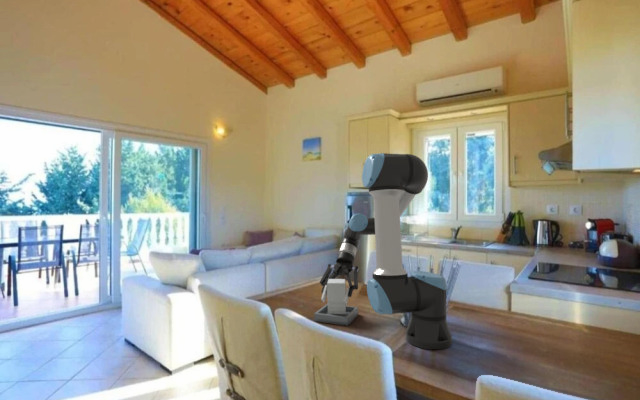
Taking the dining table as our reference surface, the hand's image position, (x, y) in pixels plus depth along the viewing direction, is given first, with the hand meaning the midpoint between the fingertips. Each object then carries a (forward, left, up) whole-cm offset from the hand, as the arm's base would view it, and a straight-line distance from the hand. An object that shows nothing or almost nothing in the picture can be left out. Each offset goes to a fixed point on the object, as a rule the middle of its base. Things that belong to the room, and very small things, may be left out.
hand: (333, 301), depth 138 cm
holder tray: (0, -3, -7) cm, 8 cm away
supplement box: (0, -3, -5) cm, 6 cm away
